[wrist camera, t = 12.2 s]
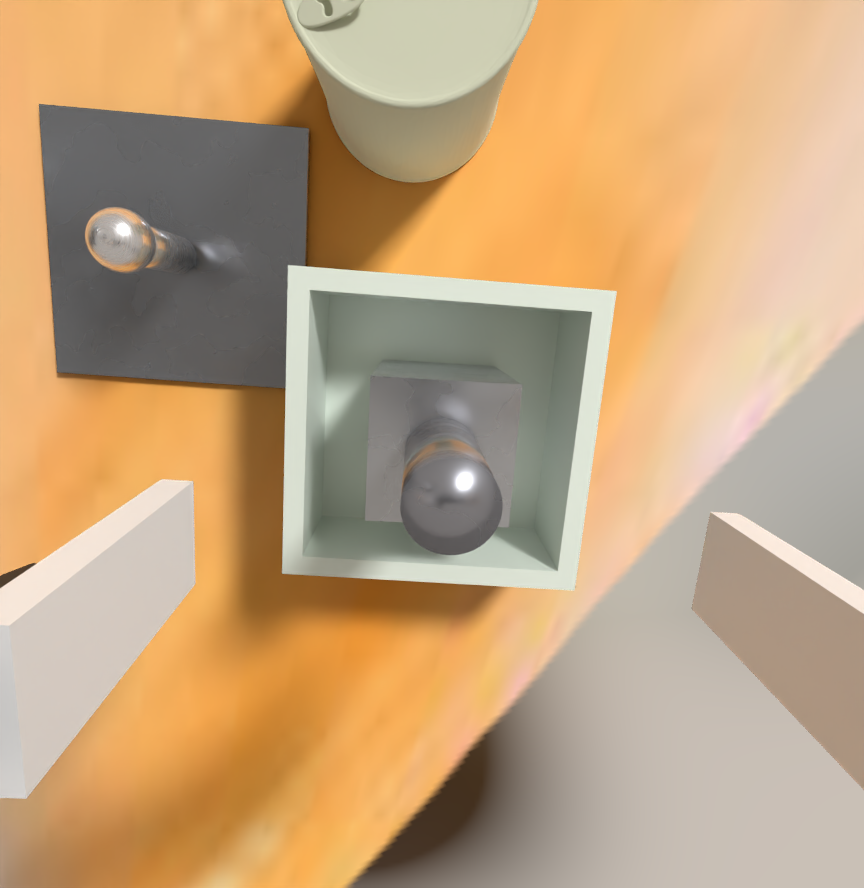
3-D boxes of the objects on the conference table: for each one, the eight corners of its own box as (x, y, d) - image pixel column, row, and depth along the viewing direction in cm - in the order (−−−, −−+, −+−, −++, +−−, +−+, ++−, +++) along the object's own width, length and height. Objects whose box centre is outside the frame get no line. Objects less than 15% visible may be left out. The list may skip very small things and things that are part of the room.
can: (294, 44, 30) (215, -130, 18) (452, -44, 29) (476, -283, 18) (375, 213, 32) (352, 153, 20) (525, 134, 31) (591, 25, 19)
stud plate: (61, 371, 33) (-48, 388, 25) (43, 106, 30) (-87, 34, 22) (303, 388, 34) (269, 410, 26) (310, 130, 31) (273, 68, 23)
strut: (378, 467, 34) (345, 597, 18) (382, 359, 33) (351, 399, 17) (485, 473, 34) (542, 605, 19) (494, 366, 33) (564, 412, 17)
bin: (307, 524, 36) (282, 573, 29) (315, 275, 32) (287, 265, 26) (544, 538, 36) (574, 590, 29) (575, 296, 33) (616, 291, 26)
